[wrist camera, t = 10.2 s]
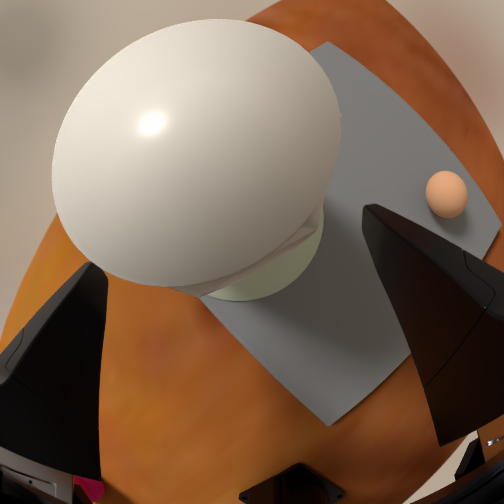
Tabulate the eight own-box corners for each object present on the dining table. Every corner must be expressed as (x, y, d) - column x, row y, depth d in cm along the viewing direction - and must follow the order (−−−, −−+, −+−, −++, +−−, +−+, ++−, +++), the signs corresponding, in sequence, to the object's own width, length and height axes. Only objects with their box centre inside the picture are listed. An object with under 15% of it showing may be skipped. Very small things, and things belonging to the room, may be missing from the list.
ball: (457, 203, 15) (482, 193, 12) (437, 230, 15) (463, 224, 12) (431, 170, 15) (454, 155, 12) (410, 196, 15) (432, 183, 12)
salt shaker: (308, 175, 16) (357, 41, 5) (279, 288, 16) (295, 334, 5) (200, 150, 16) (121, 25, 5) (167, 256, 16) (23, 237, 5)
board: (494, 225, 16) (502, 223, 15) (325, 419, 16) (328, 427, 15) (326, 49, 18) (328, 40, 16) (129, 207, 18) (121, 203, 17)
